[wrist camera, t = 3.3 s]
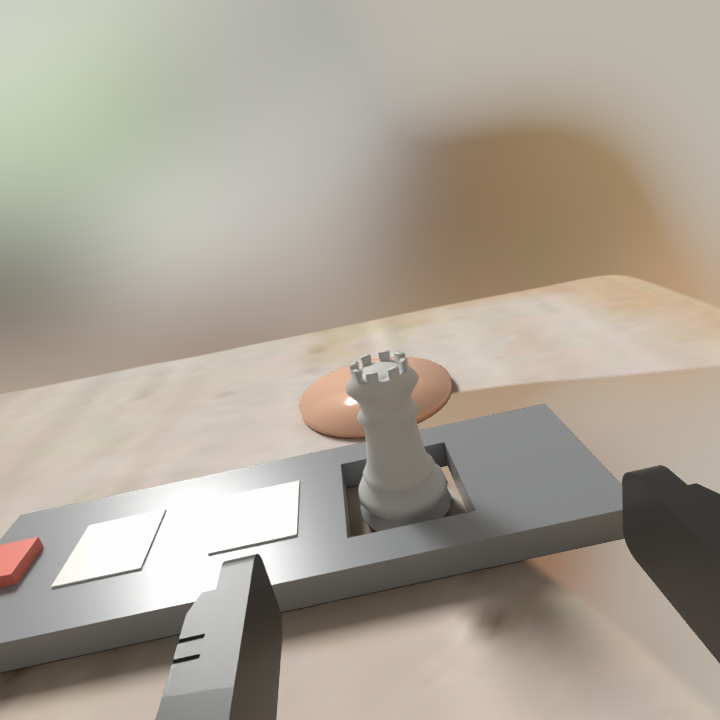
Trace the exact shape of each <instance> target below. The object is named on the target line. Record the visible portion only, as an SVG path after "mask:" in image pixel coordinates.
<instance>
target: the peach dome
mask: <svg viewBox="0 0 720 720" xmlns="http://www.w3.org/2000/svg"><path fill="white" fill-rule="evenodd" d="M405 358H407V360H408V365H409V366H410V367H411V368H413V369H414V370H415V371H416V372H417V374H418V375H419V379H418V382H417V385H416V386H415V388H414V390H413V392H412V400H414V401H415V402H416V403H417V405H418V407H419V410H418V413H417V415H416V420H417V424H418V423H420V422H422V421H424V420H426V419H427V418H429V417H431V416H433V415H434V414H435V413H437V412H438V411H439V410H440V409H441V408H442V407H443V406H444V405H445V404H446V403H447V401H448V400H449V398H450V395H451V393H452V384H451V377H450V375H449V373H448V371H447V370H446V369H445V368H444V367H442V366H441V365H439V364H437V363H435V362H432V361H429V360H425V359H421V358H413V357H405ZM391 360H395V358H394V357H391ZM375 361H380V359H372V360H371V362H375ZM358 364H359V367H361V365H360V362H359V363H358ZM349 366H350V365H348V366H346V367H343V368H340V369H338V370H336V371H333V372H331V373H329V374H327V375H325V376H324V377H322V378H320V379H319V380H317V381H316V382H315V383H313V384H312V385H311V386H310V387H309V388H308V389H307V390H306V391H305V393H304V394H303V396H302V398H301V400H300V411H301V415H302V418H303V420H304V422H305V423H306V424H307V425H308V426H309V427H310V428H311V429H313V430H315V431H317V432H319V433H322V434H325V435H329V436H334V437H343V438H363V437H365V431H364V426H363V425H361V424H360V423H359V422H358V419H357V415H358V413H359V411H360V405H359V403H358V402H356V401H355V400H354V399H352V398H351V397H350V396H349V395H347V393H346V389H345V387H346V385H347V383H348V381H349V379H350V378H351V373H350V368H349Z"/></svg>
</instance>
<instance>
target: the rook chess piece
mask: <svg viewBox="0 0 720 720" xmlns="http://www.w3.org/2000/svg"><path fill="white" fill-rule="evenodd" d="M394 358H395V360H391V357H390V352H389V350H386V351H379V359H380V361H375V362H371V357H370V355H369V354H366V355H363V356H361V357H359V360H360V365H361V367H359V364H358V362H352V363H351V365H350V366H349V368H350V373H351V378H350V379H349V381H348V383H347V385H346V387H345V389H346V393H347V395H349V396H350V397H351V398H352V399H354V400H355V401H356V402H358V403H359V405H360V411H359V413H358V415H357V419H358V422H359V423H360V424H361V425H363V426H364V431H365V437H366V453H367V463H366V466H365V468H364V471H363V477H362V479H361V482H360V484H359V489H358V494H359V499H360V504H361V506H360V509H361V514H362V518H363V520H364V521H365V522H366V523H367V524H368V525H369V526H370V527H371V528H372V529H374V530H375V531H377V532H378V531H383V530H387V529H392V528H397V527H401V526H406V525H411V524H415V523H420V522H425V521H429V520H434V519H439V518H443V517H444V516H445V515H446V513H447V512H448V511H449V509H450V503H451V495H450V493H449V491H448V489H447V483H448V482H447V480H446V478H445V476H444V474H443V472H442V470H441V468H440V466H439V465H437V464H436V463H435V462H434V460H433V458H432V456H431V455H429V454H428V453H427V452H426V450H425V448H424V445H423V442H422V439H421V436H420V433H419V430H418V426H417V420H416V415H417V413H418V410H419V407H418V405H417V403H416V402H415V401H414V400H412V392H413V390H414V388H415V386H416V385H417V382H418V379H419V375H418V374H417V372H416V371H415V370H414V369H413V368H411V367H410V366H409V365H408V360H407V358H405V354H404V353H402V352H399V351H398V352H396V353H394Z"/></svg>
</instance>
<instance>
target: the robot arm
mask: <svg viewBox="0 0 720 720" xmlns="http://www.w3.org/2000/svg"><path fill="white" fill-rule="evenodd" d="M622 511H623V534H624V538H625V541H626V544H627V546H628V548H629V550H630V552H631V554H632V555H633V557H634V558H635V560H636V561H637V562H638V563H639V565H640V566H641V567H642V568H643V570H644V571H645V572H646V573H647V575H648V576H649V577H650V578H651V579H652V581H653V582H654V583H655V584H656V585H657V587H658V588H659V589H660V591H661V592H662V593H663V594H664V595H665V597H666V598H667V599H668V600H669V602H670V603H671V604H672V605H673V607H674V608H675V609H676V610H677V611H678V613H679V614H680V615H681V616H682V618H683V619H684V620H685V621H686V623H687V624H688V625H689V626H690V627H691V629H692V630H693V631H694V632H695V634H696V635H697V636H698V637H699V639H700V640H701V641H702V642H703V643H704V644H705V646H706V647H707V648H708V650H709V651H710V652H711V653H712V654H713V656H714V657H715V658H716V659H717V661H718V662H719V663H720V494H718V493H716V492H714V491H712V490H710V489H707V488H705V487H703V486H701V485H699V484H692V485H687V484H686V483H684V482H683V481H682V480H681V479H680V478H679V477H677V476H676V475H675V474H674V473H673V472H672V471H670V470H669V469H668V468H667V467H665V466H662V465H659V466H654V467H650V468H646V469H641V470H636V471H632V472H628V473H626V474H624V476H623V479H622ZM281 646H282V621H281V614H280V609H279V605H278V602H277V599H276V596H275V594H274V591H273V588H272V585H271V582H270V580H269V577H268V574H267V571H266V568H265V566H264V563H263V560H262V558H261V556H260V555H259V554H254V555H249V556H245V557H240V558H236V559H231V560H227V561H224V562H223V563H222V565H221V569H220V573H219V577H218V582H217V586H216V589H214V590H209V591H205V592H201V594H200V595H199V597H198V598H197V600H196V601H195V603H194V604H193V605H192V607H191V608H190V610H189V611H188V613H187V614H186V617H185V620H184V623H183V627H182V630H181V634H180V637H179V644H177V648H176V651H175V654H174V658H173V665H171V668H170V672H169V675H168V679H167V682H166V685H165V689H164V692H163V696H162V699H161V703H160V706H159V710H158V713H157V717H156V720H276V715H277V701H278V688H279V674H280V660H281Z"/></svg>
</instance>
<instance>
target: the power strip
mask: <svg viewBox="0 0 720 720" xmlns="http://www.w3.org/2000/svg"><path fill="white" fill-rule="evenodd" d="M419 433H420V436H421V439H422V442H423V445H424V448H425V450H426V452H427V453H428V454H429V455H431V456H432V458H433V460H434V462H435V463H436V464H437V465H439V466H440V467H443V466H448V467H449V470H450V472H451V474H452V476H453V479H454V481H455V484H456V486H457V488H458V490H459V493H460V495H461V497H462V500H463V502H464V504H465V506H466V509H467V511H468V512H467V513H462V514H457V515H453V516H448V517H443V518H439V519H434V520H429V521H425V522H420V523H415V524H411V525H406V526H401V527H397V528H392V529H387V530H383V531H378V532H373V533H369V534H364V535H359V536H355V537H351V529H350V518H349V508H348V498H347V488H346V487H350V486H355V485H359V484H360V482H361V479H362V477H363V471H364V468H365V466H366V463H367V453H366V442H362V443H357V444H352V445H348V446H343V447H338V448H333V449H329V450H324V451H319V452H315V453H310V454H305V455H301V456H296V457H291V458H287V459H282V460H277V461H273V462H268V463H263V464H258V465H254V466H249V467H244V468H240V469H235V470H230V471H226V472H221V473H216V474H212V475H207V476H202V477H197V478H193V479H188V480H183V481H179V482H174V483H169V484H165V485H160V486H155V487H151V488H146V489H141V490H136V491H132V492H127V493H122V494H118V495H113V496H108V497H104V498H99V499H94V500H90V501H85V502H80V503H75V504H71V505H66V506H61V507H57V508H52V509H47V510H43V511H38V512H33V513H29V514H24V515H20V516H19V518H18V519H17V520H16V521H15V522H14V524H13V525H12V526H11V527H10V528H9V530H8V531H7V532H6V533H5V534H4V536H3V537H2V538H1V539H0V673H1V672H6V671H10V670H15V669H20V668H24V667H29V666H33V665H38V664H43V663H47V662H52V661H57V660H61V659H66V658H71V657H75V656H80V655H85V654H89V653H94V652H99V651H103V650H108V649H113V648H117V647H122V646H127V645H131V644H136V643H140V642H145V641H150V640H154V639H159V638H164V637H168V636H173V635H178V634H181V630H182V627H183V623H184V620H185V617H186V614H187V613H188V611H189V610H190V608H191V607H192V605H193V604H194V603H195V601H196V600H197V598H198V597H199V595H200V594H201V592H205V591H209V590H214V589H216V586H217V582H218V577H219V573H220V569H221V565H222V563H223V562H224V561H227V560H231V559H236V558H240V557H245V556H249V555H254V554H259V555H260V556H261V558H262V560H263V563H264V566H265V568H266V571H267V574H268V577H269V580H270V582H271V585H272V588H273V591H274V594H275V596H276V599H277V602H278V605H279V609H280V612H285V611H289V610H294V609H299V608H303V607H308V606H313V605H317V604H322V603H327V602H331V601H336V600H340V599H345V598H350V597H354V596H359V595H364V594H368V593H373V592H378V591H382V590H387V589H392V588H396V587H401V586H406V585H410V584H415V583H420V582H424V581H429V580H433V579H438V578H443V577H447V576H452V575H457V574H461V573H466V572H471V571H475V570H480V569H485V568H489V567H494V566H499V565H503V564H508V563H513V562H517V561H522V560H527V559H531V558H536V557H540V556H545V555H550V554H554V553H559V552H564V551H568V550H573V549H578V548H582V547H586V546H591V545H596V544H601V543H605V542H610V541H614V540H620V539H624V534H623V511H622V484H620V483H619V481H618V480H617V479H616V478H615V477H614V476H613V475H612V474H611V473H610V472H609V471H608V470H607V469H606V468H605V467H604V465H602V463H601V462H600V461H599V460H598V459H597V458H596V457H595V456H594V455H593V454H592V453H591V452H590V451H589V450H588V449H587V448H586V446H585V445H584V444H583V443H582V442H581V441H580V440H579V439H578V438H577V437H576V436H575V435H574V434H573V433H572V432H571V431H570V430H569V429H568V428H567V426H566V425H564V423H562V421H561V420H560V419H559V418H558V417H557V416H556V415H555V414H554V413H553V412H552V411H551V410H550V409H549V408H548V406H547V405H546V404H540V405H535V406H531V407H526V408H521V409H516V410H512V411H508V412H503V413H498V414H493V415H488V416H484V417H479V418H474V419H470V420H465V421H460V422H455V423H451V424H447V425H442V426H437V427H432V428H427V429H423V430H419Z"/></svg>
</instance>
